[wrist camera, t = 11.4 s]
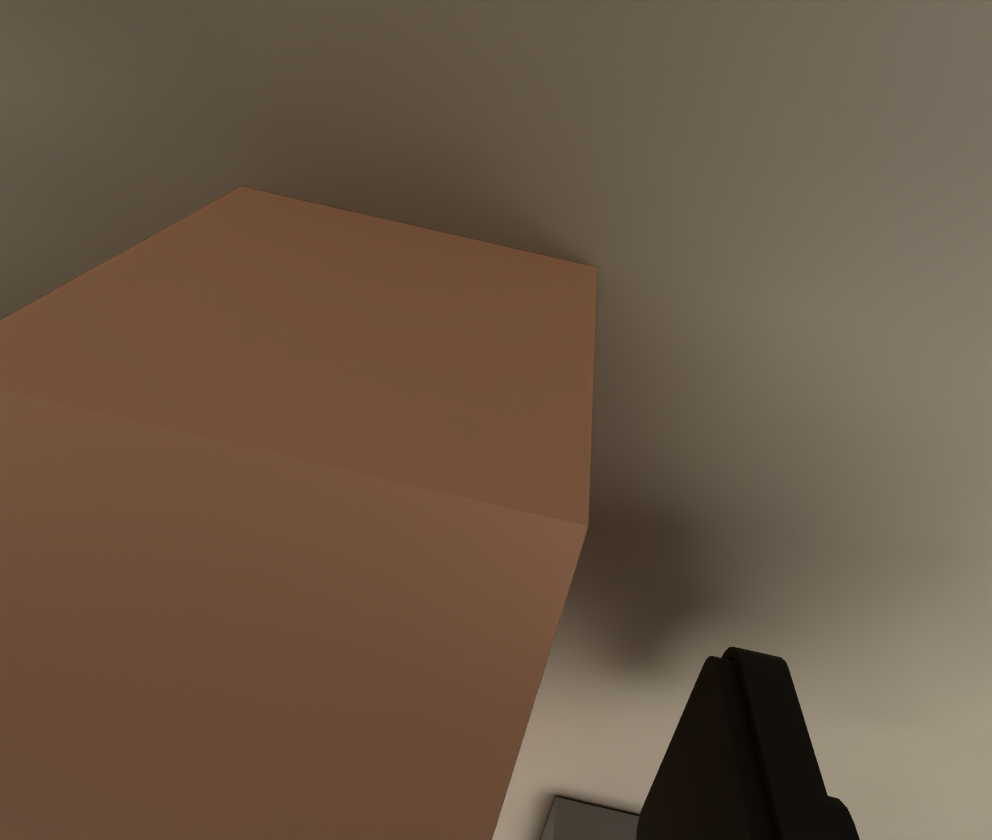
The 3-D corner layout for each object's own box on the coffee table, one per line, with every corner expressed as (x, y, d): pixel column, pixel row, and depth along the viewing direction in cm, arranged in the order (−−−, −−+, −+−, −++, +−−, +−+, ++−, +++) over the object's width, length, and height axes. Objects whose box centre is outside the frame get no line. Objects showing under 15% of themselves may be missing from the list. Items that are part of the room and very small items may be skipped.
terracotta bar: (245, 183, 9) (-88, 368, 5) (597, 264, 9) (588, 527, 5) (221, 689, 13) (24, 1051, 9) (469, 748, 13) (398, 1140, 9)
